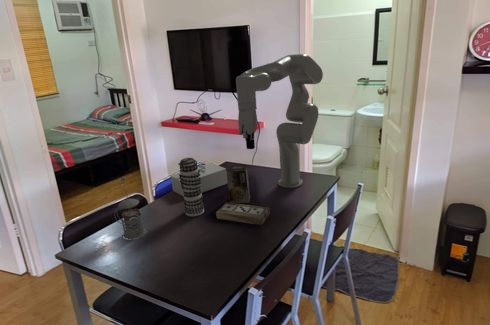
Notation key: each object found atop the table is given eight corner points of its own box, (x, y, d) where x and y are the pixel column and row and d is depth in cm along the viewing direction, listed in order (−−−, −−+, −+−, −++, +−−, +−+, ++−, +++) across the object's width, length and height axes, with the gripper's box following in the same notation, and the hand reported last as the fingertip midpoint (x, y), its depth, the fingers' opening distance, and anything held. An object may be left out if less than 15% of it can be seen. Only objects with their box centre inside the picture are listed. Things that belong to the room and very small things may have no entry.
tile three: (240, 212, 153) (239, 205, 152) (250, 213, 151) (250, 206, 150) (235, 217, 148) (234, 210, 147) (246, 218, 146) (245, 212, 145)
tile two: (253, 213, 150) (253, 207, 149) (264, 215, 148) (264, 208, 147) (249, 219, 146) (248, 212, 145) (260, 220, 144) (259, 213, 143)
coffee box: (250, 197, 167) (247, 165, 162) (249, 203, 161) (246, 170, 156) (231, 197, 168) (228, 166, 163) (229, 203, 162) (226, 171, 157)
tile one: (227, 210, 155) (226, 203, 154) (237, 211, 153) (236, 205, 152) (221, 215, 151) (221, 208, 150) (232, 216, 149) (231, 210, 148)
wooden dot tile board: (227, 208, 158) (226, 202, 157) (269, 213, 150) (269, 207, 149) (216, 218, 150) (216, 212, 149) (261, 225, 141) (261, 218, 140)
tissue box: (227, 183, 187) (225, 164, 183) (186, 198, 172) (183, 178, 169) (212, 177, 198) (210, 159, 194) (173, 191, 183) (169, 171, 180)
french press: (140, 240, 137) (128, 182, 129) (113, 240, 140) (100, 182, 132) (151, 228, 146) (140, 172, 138) (125, 227, 149) (113, 172, 141)
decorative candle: (206, 214, 154) (199, 160, 146) (185, 218, 152) (177, 164, 144) (203, 205, 163) (197, 154, 154) (183, 209, 161) (176, 158, 153)
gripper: (246, 102, 152) (249, 143, 158) (231, 109, 139) (235, 153, 145) (262, 102, 149) (265, 143, 155) (248, 109, 136) (252, 154, 142)
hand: (250, 148), depth 150 cm, fingers closed
